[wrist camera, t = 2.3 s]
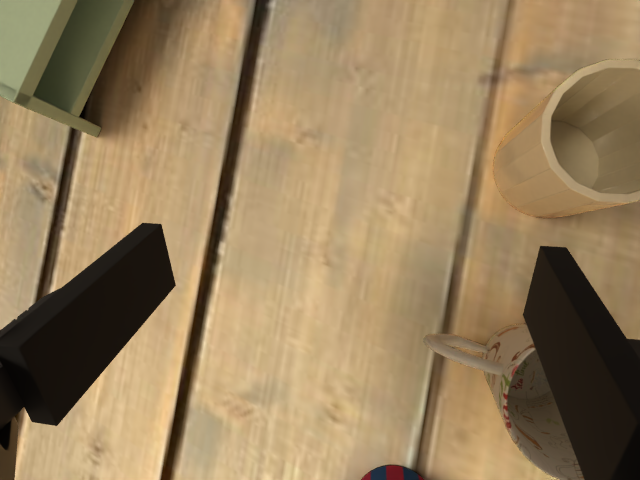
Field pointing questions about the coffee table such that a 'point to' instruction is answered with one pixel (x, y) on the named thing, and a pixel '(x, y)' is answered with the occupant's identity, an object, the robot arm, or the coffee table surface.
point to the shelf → (57, 53)
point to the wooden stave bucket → (576, 145)
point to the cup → (392, 474)
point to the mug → (518, 395)
